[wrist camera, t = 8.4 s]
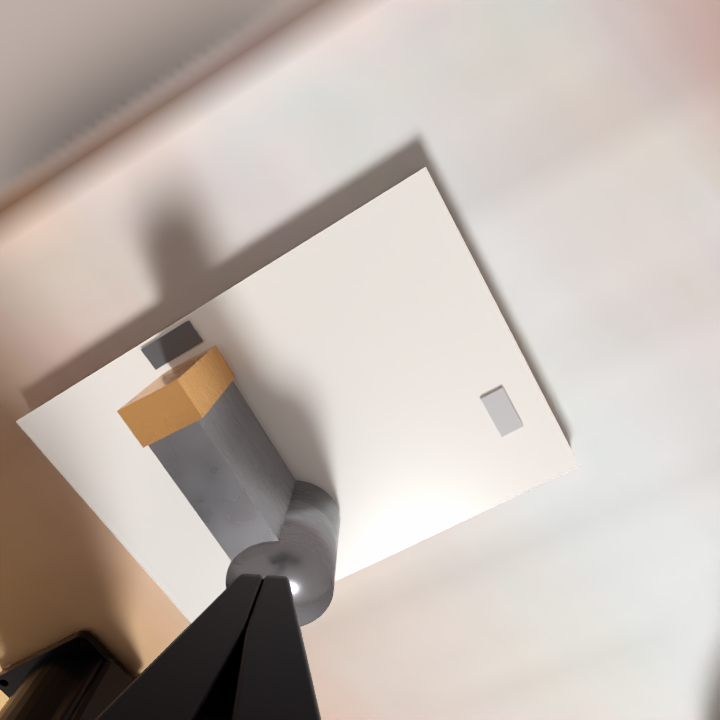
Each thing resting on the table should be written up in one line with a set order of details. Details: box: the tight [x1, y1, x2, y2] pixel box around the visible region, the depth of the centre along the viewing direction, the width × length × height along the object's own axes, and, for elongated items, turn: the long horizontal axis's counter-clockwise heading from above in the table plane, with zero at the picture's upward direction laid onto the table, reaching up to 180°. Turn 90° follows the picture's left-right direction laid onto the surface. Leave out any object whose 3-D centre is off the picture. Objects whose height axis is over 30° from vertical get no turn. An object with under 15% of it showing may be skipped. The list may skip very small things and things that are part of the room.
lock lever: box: [117, 345, 340, 627], centre depth 19 cm, size 10×4×4 cm, turn 28°
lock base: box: [15, 167, 580, 623], centre depth 21 cm, size 20×14×1 cm
